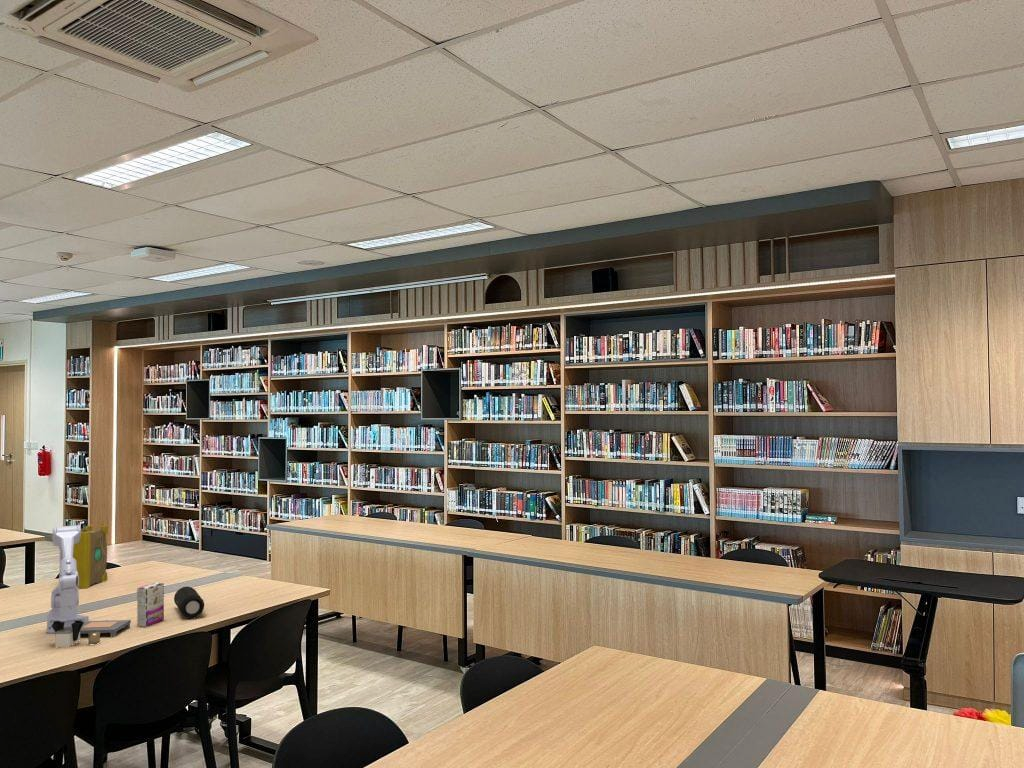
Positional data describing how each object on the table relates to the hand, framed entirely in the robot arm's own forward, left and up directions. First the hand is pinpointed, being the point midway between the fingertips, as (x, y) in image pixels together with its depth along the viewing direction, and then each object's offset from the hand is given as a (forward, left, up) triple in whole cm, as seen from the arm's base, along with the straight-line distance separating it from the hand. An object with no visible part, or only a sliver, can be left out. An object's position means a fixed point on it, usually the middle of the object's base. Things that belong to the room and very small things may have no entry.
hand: (67, 640), depth 286 cm
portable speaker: (+30, +43, -2) cm, 53 cm away
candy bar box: (+20, +27, -2) cm, 34 cm away
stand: (+5, +15, -1) cm, 16 cm away
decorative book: (-47, +108, -2) cm, 118 cm away
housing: (0, 0, -2) cm, 2 cm away
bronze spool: (+10, 0, -2) cm, 10 cm away
